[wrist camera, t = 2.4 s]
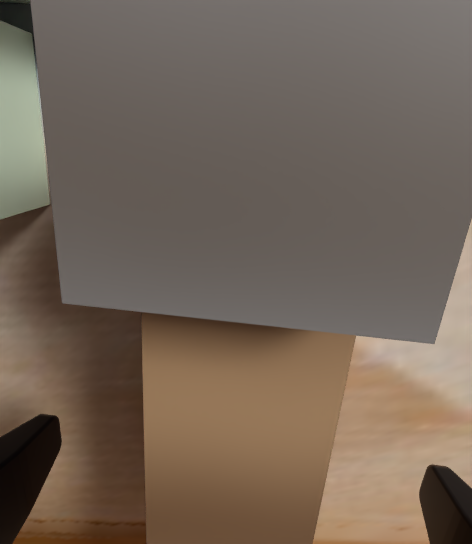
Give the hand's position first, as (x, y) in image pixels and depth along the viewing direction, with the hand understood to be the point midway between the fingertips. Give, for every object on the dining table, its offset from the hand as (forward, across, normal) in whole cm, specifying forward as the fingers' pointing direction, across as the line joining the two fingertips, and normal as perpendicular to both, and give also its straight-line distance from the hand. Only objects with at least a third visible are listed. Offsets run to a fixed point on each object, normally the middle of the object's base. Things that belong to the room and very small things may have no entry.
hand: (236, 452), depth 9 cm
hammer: (+3, 0, -2) cm, 3 cm away
